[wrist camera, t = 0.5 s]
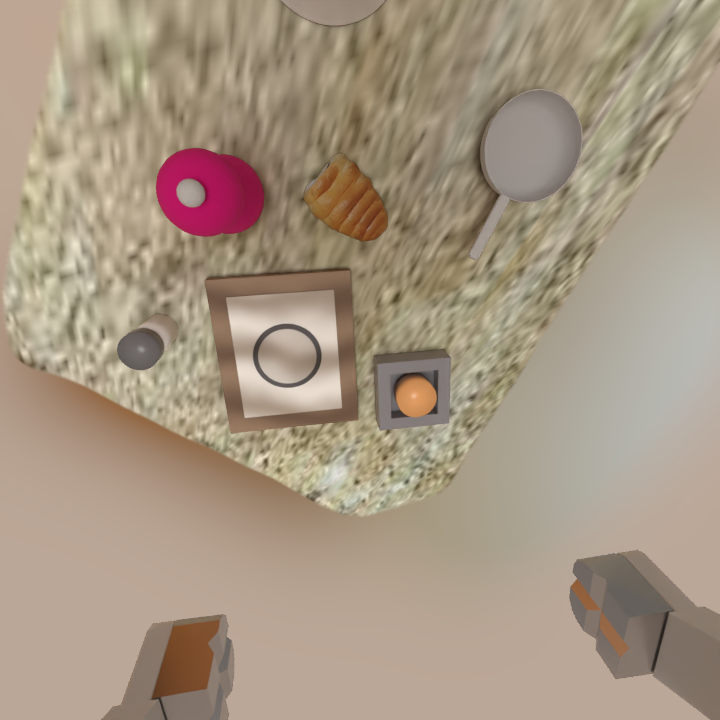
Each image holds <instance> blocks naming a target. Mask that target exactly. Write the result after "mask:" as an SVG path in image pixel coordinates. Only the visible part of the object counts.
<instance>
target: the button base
mask: <svg viewBox="0 0 720 720" xmlns="http://www.w3.org/2000/svg"><path fill="white" fill-rule="evenodd" d="M450 365H451V357H450V356H449V355H448V354H447V353H446V352H445V351H444V350H432V351H421V352H409V353H398V354H387V355H376V356H374V381H375V406H376V421H377V424H378V427H379V429H380V430H389V429H398V428H408V427H417V426H426V425H436V424H445V423H449V402H450ZM409 374H420V375H422V376H424V377H426V378H427V379H428V381H429V382H430V383H431V385H432V386H433V388H434V389H435V391H436V395H437V400H436V404H435V406H434V407H433V409H432V410H431V411H430V412H429V413H427V414H426V415H424V416H421V417H410V416H407V415H405V414H404V413H403V412H402V411H401V410H400V408H399V406H398V404H397V402H396V400H395V397H394V388H395V386H396V384H397V382H398V381H399V380H400V379H401V378H402V377H404V376H406V375H409Z"/></svg>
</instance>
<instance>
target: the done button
mask: <svg viewBox="0 0 720 720" xmlns="http://www.w3.org/2000/svg"><path fill="white" fill-rule="evenodd" d="M394 397H395V400H396V402H397V404H398V406H399V408H400V410H401V411H402V412H403V413H404V414H405V415H407V416H410V417H421V416H424V415H426V414H427V413H429V412H430V411H431V410H432V409H433V407H434V406H435V404H436V400H437V395H436V391H435V389H434V388H433V386H432V385H431V383H430V382H429V381H428V379H427V378H426V377H424V376H422V375H420V374H409V375H406V376H404V377H402V378H401V379H400V380H399V381H398V382H397V384H396V386H395V388H394Z"/></svg>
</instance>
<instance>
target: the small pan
mask: <svg viewBox="0 0 720 720" xmlns="http://www.w3.org/2000/svg"><path fill="white" fill-rule="evenodd" d="M582 139H583V135H582V127H581V123H580V119H579V117H578V114H577V112H576V110H575V109H574V107H573V106H572V105H571V103H570V102H569V101H568V100H567V99H566V98H564V97H563V96H562V95H560V94H558V93H556V92H554V91H550V90H546V89H534V90H529V91H526V92H523V93H520V94H519V95H517V96H515V97H513V98H512V99H510V100H509V101H508V102H506V103H505V104H504V105H503V106H501V107H500V108H499V109H498V111H497V112H496V113H495V114H494V115H493V116H492V118H491V120H490V121H489V123H488V124H487V127H486V129H485V131H484V134H483V137H482V141H481V148H480V162H481V167H482V171H483V174H484V177H485V179H486V180H487V182H488V184H489V185H490V186H491V188H492V189H493V190H494V191H495V192H496V193H498V194H499V197H498V199H497V201H496V203H495V205H494V206H493V208H492V210H491V212H490V214H489V216H488V218H487V220H486V221H485V223H484V225H483V227H482V229H481V231H480V233H479V235H478V236H477V238H476V240H475V242H474V244H473V246H472V248H471V250H470V251H469V257H470V258H472V259H474V260H477V259H478V258H479V257H480V255H481V253H482V251H483V249H484V247H485V246H486V244H487V242H488V240H489V238H490V236H491V235H492V233H493V231H494V229H495V227H496V225H497V223H498V222H499V220H500V218H501V216H502V214H503V212H504V210H505V209H506V207H507V205H508V203H509V201H510V200H512V201H516V202H522V203H531V202H538V201H541V200H544V199H546V198H548V197H550V196H552V195H553V194H555V193H556V192H557V191H559V190H560V189H561V188H562V187H563V186H564V185H565V184H566V183H567V182H568V180H569V179H570V177H571V176H572V174H573V172H574V171H575V169H576V167H577V164H578V161H579V158H580V155H581V150H582Z"/></svg>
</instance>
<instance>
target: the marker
mask: <svg viewBox="0 0 720 720" xmlns="http://www.w3.org/2000/svg"><path fill="white" fill-rule="evenodd" d="M177 336H178V326H177V324H176V322H175V321H174V320H173V319H172V318H170V317H169V316H166V315H162V314H158V315H154V316H152V317H150V318H149V319H148V320H147V321H145V322H144V323H143V324H142V325H140V326H139V327H138V328H136V329H134V330H132V331H131V332H130V333H128V334H127V335H126V336H125V337H123V338H122V339H121V340H120V342H119V344H118V348H117V352H118V356H119V358H120V360H121V361H122V362H123V363H124V364H125V365H126V366H128V367H130V368H132V369H135V370H145V369H148V368H151V367H152V366H153V365H154V364H155V363H156V362H157V361H158V360H159V359H160V358H161V356H162V355H163V353H164V352H165V350H166V349H167V348H168V347H169V346H170V345H171V344H172V343H173V341H174V340H175V339H176V338H177Z"/></svg>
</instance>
